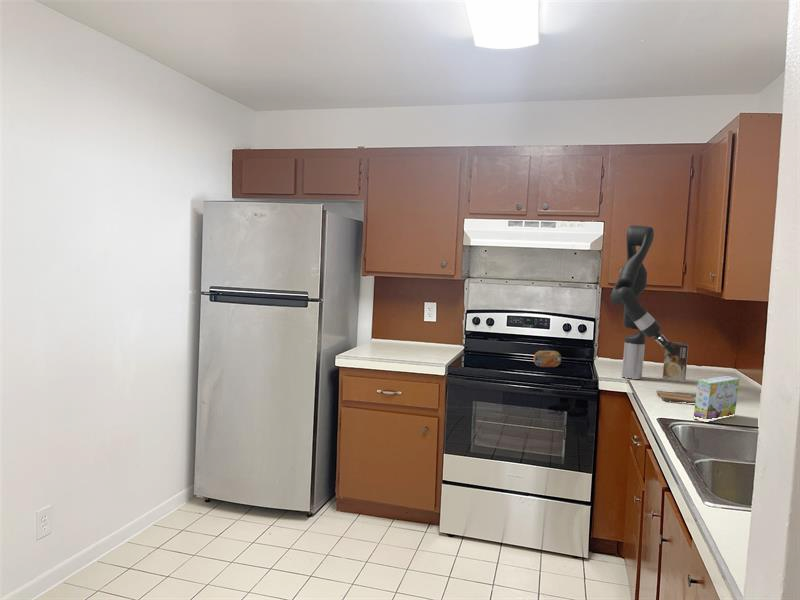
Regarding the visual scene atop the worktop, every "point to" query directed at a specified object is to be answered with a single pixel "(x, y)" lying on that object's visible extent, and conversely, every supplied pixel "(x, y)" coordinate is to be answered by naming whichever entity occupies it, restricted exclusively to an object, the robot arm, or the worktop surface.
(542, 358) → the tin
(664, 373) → the coffee box
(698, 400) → the snack box
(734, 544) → the worktop surface
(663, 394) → the board
